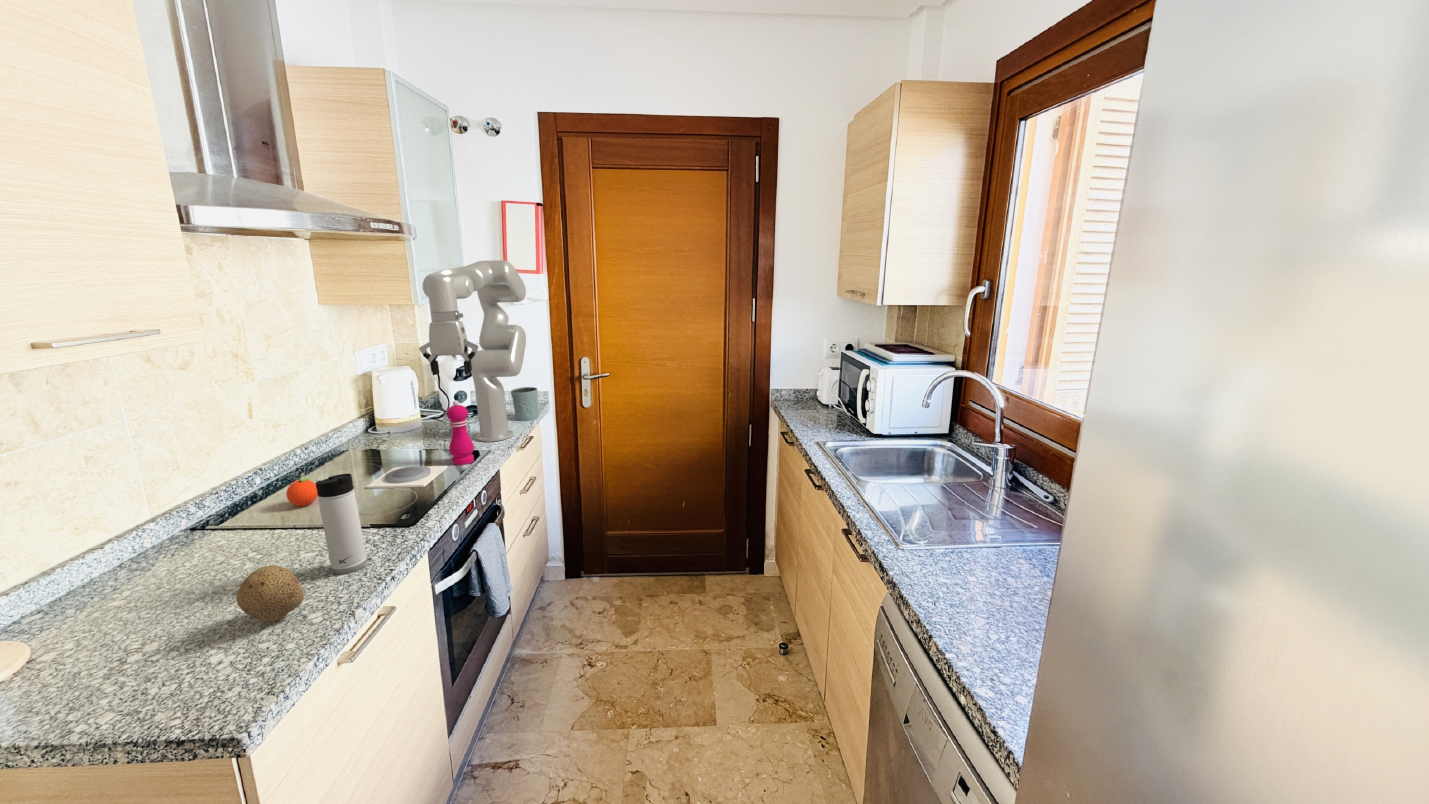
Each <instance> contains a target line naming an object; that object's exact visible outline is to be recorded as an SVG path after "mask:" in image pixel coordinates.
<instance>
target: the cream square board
mask: <svg viewBox="0 0 1429 804" xmlns="http://www.w3.org/2000/svg"><path fill="white" fill-rule="evenodd" d="M447 468H448V465H433V466H431V465H430V466H428V465H427V466H425V465H412V466H400V467H399V466H398V467H397V466H396V467H393V468H391V469H390V470H388V471H387V472H385V473H384V474H383V475H381V476H379V477H378V478H377V479H375V480H374V481H372V482H371V483H369V484H368V485H366V487H365V489H366V490H368V489H399V488H400V489H401V488H424V487H425V486H427V485H428V484H429V483H431V482H432V481H433V480H434V479H435V478H436V477H438V476H440V474H441V473H443V472H444V471H445V470H446V469H447Z"/></svg>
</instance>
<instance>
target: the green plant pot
mask: <svg viewBox="0 0 1429 804" xmlns="http://www.w3.org/2000/svg"><path fill="white" fill-rule="evenodd" d="M510 394H511V398H512V404H513V409H514V414H515V420H516V421H517V420H518V421H517V422H530V421H535V420H537V419H538V418H539V408H538V405H539V404H538V403H539V402H538V401H539V400H538V398H539V397H538V388H537V387H535V386H524V387H518V388H513V389H512V390H510Z"/></svg>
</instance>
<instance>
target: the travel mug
mask: <svg viewBox="0 0 1429 804" xmlns="http://www.w3.org/2000/svg"><path fill="white" fill-rule="evenodd" d="M314 483H315V484H316V489H317V494H318V495H317V500H318V501H317V502H318V506H319V511H320V516H321V520H322V526H323V532H324V536H325V537H324V538H325V543H326V547H327V552H328V557H329V563H330V568H331V572H332V573H334V574H337V575H344V574H345V575H346V574H350V573H353V572H357V571H359V570H360V569H362V568H364V567H365V566H366V565H367V563H368V559H367V556H366V549H365V542H364V537H363V531H362V526H361V525H362V524H361V520H360V514H359V507H358V503H357V497H356V496H357V495H356V491H355V487H354V482H353V476H352V473H340V474H335V475H331V476H328V478H324V479H322V480H316V482H314Z"/></svg>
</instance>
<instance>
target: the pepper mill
mask: <svg viewBox="0 0 1429 804" xmlns="http://www.w3.org/2000/svg"><path fill="white" fill-rule="evenodd" d="M468 414H469V412H468V410H467V408H466V407H465V406H464V405H462V404H460V402H459V401H458V400H453V402H452V405H451V406H450V407H449V408H448V409H447V411H446V417H447V419H448V420H449V427H451V430H452V435H451V440H450V442H449V447H448V449H449V451H448V452H449V453H450V455H451V456H453V457H452V458H451V459H452V460H451V461H452V464H453V465H455V466H463V465H464V466H465V465H468V464H471V463H473V462H474V461H475V458H474V454H472V453H473V452H474V451H475V446H474V443H473V441H472V439H471V437H470V435H469V434H468V430H467V425H468V419H467V417H468Z"/></svg>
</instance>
